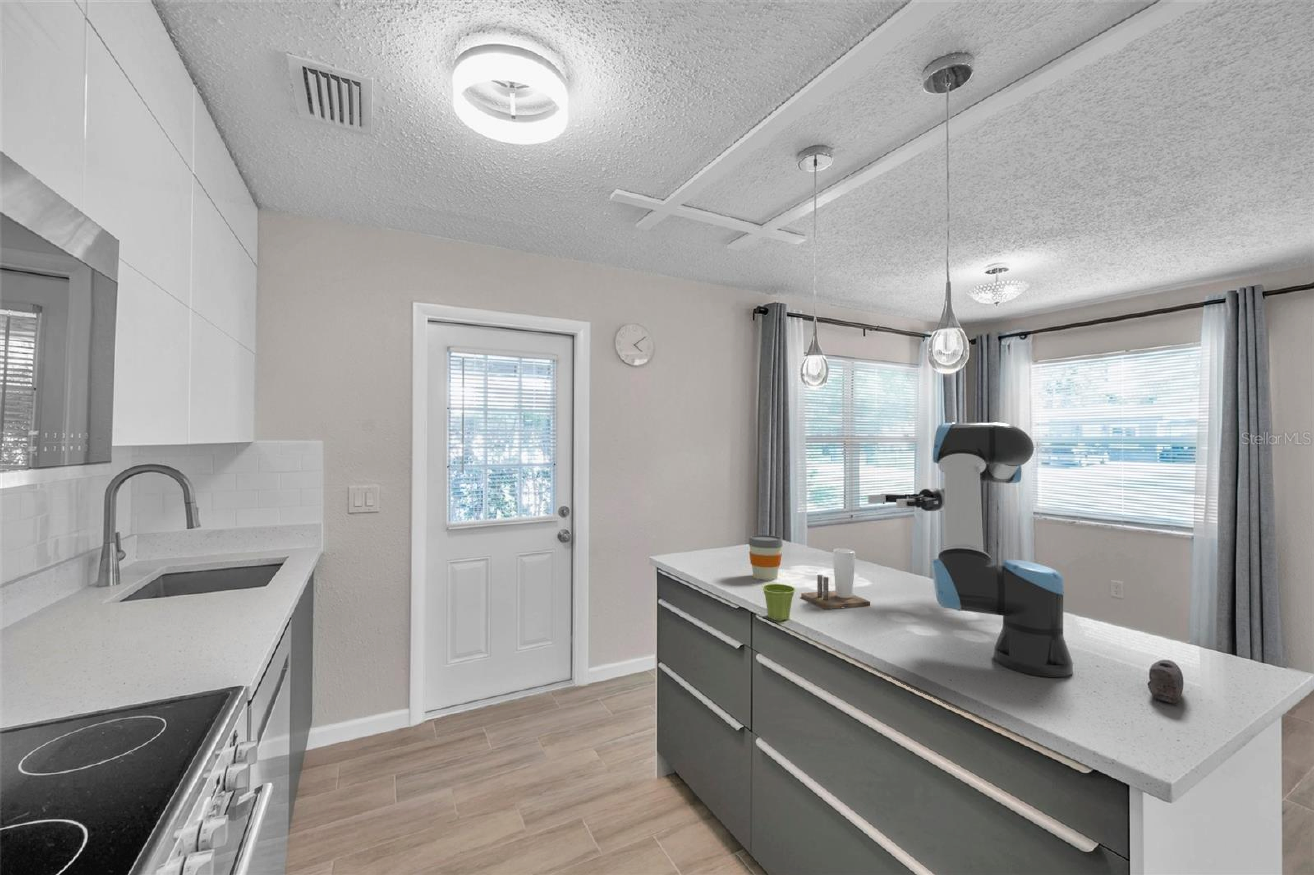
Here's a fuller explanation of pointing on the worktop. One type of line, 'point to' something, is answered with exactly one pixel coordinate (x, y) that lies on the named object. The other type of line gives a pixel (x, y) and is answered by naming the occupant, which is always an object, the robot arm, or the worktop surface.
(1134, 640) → the worktop surface
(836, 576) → the white tall cylinder
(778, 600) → the plant pot
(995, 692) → the worktop surface
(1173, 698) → the perforated stone tool
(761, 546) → the reusable coffee cup
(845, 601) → the board
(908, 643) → the worktop surface
